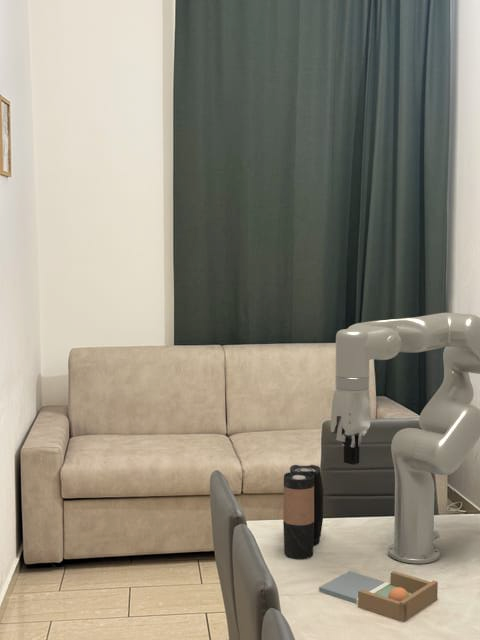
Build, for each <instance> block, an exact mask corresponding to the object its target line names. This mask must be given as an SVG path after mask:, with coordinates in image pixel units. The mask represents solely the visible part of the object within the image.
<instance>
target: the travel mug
mask: <svg viewBox="0 0 480 640" xmlns="http://www.w3.org/2000/svg"><path fill="white" fill-rule="evenodd" d="M282 503H283V507H282V508H283V511H282V513H283V514H282V515H283V517H282V518H283V520H282V521H283V524H282V525H283V528H282V529H283V553H284V556H286V557H287V558H288V559H293V560H306V559H309V558H311V557H313V555H314V546H313V540H314V475H313V474H311V473H308V472H299V473H297V474H291V473H290V472H285V474H284V475H283V501H282Z"/></svg>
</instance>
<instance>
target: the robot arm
mask: <svg viewBox="0 0 480 640" xmlns="http://www.w3.org/2000/svg"><path fill="white" fill-rule="evenodd" d="M441 348H444V349H443V354H442V357H443V358H442V360H443V380H442V383H441V385H440V387H439V388H438V389H437V390H436V392H435V393H434V395H433V396H432V397H431V399H430V400H429V401H428V402H427V404H426V405H425V406H424V407H423V409H422V411H421V412H420V415H419V417H418V424H419V427H420V428H417V427H415V428H414V427H405V428H403V429H400V430H398V431H397V432H396V433H395V434H394V436H393V438H392V440H391V443H390V444H391V445H390V447H391V448H390V450H391V457H392V462H393V467H394V531H393V532H394V534H393V535H394V536H393V538H394V539H393V543H391V544H390V545H389V546H388V547H387V554H388V556H389V557H391V558H392V559H394V560H395V561H398V562H403V563H406V564H407V563H408V564H429V563H433V562H436V561H437V560H438V559H439V558H440V555H441V554H440V553H441V552H440V550H439V548H437V547H436V546H434V542H435V541H436V540H437V539H439V538H440V533H439V532H438V531H436V530H435V528H434V527H435V525H434V524H435V522H434V521H435V482H434V479H433V476H432V474H435V475H439V476H449V475H452V474H453V473H455V472H456V471H457V470H458V468H459V467H460V466H461V465H462V464H463V462H464V461H465V459H466V458H467V457H468V455H469V454H470V453H471V451H472V450H473V448H474V447H475V445H476V444H477V443H478V441H479V439H480V409H479V408H478V407H477V406H475V405H473V404H471V403H472V402H473V399H474V394H475V393H474V388H473V387H474V386H473V384H472V382H471V379H470V373H471V374H477V375H480V317H479V316H478V315H475V314H468V313H460V312H459V313H458V312H439V313H433V314H428V315H422V316H415V317H402V318H395V319H394V318H393V319H385V320H384V319H383V320H381V319H380V320H372V321H371V320H369V321H363V322H358V323H354V324H352V325H349V326H348V328H345V329H340V330H338V331H337V332H336V335H335V390H334V392H333V396H332V401H331V403H332V404H331V413H330V432H331V433H332V434H335V435H336V437H335V438H336V439H335V440H336V442H337V441H338V442H340V443H341V444H342V446H343V463H345V464H348V465H352V466H353V465H358V464H360V447H361V445H362V438H363V437H364V436H365V435H366V434H367V432H368V430H369V428H370V427H371V417H372V415H371V400H370V399H371V398H370V397H371V396H370V361H371V360H376V361H377V360H378V361H380V360H381V361H386V360H387V361H388V360H391V359H393V358H395V357H396V356H397V355H398V354H399V353H422V352H427V351H431V350H437V349H441Z"/></svg>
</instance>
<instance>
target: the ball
mask: <svg viewBox="0 0 480 640" xmlns="http://www.w3.org/2000/svg"><path fill="white" fill-rule="evenodd" d="M408 596H409V594H408V592H407V591H406V590H405V589H403V588H401V587H396V588H393V589H392V590H391V591H390V593H389V596H388V598H390V599H393V600H397V601H402V600H403V599H405V598H406V597H408Z"/></svg>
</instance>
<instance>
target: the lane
mask: <svg viewBox="0 0 480 640" xmlns="http://www.w3.org/2000/svg"><path fill="white" fill-rule="evenodd" d="M438 586H439V582H438V581H437V580H432V581H430V580H425V579H422V578H419V577H415V576H411V575H408V574H405V573H402V572H398V571H394V570H393V571H390V582H387V581H384V580H381V579H377V578H374V577H370V576H367V575H365V574H360V573H357V572H354V571H352V570H349V571H347V572H344V573H343V574H341V575H339V576H337V577H336V578H333V579H332V580H330V581H328V582H326V583H324V584H322V585H320V586H319V587H318V591H319V592H320V593H323V594H326V595H329V596H332V597H335V598H338V599H342V600H343V601H348V602H351V603H354V604H357V607H358V608H360V609H363V610H366V611H369V612H372V613H376V614H378V615H381V616H385V617H387V618H390V619H393V620H397V621H400V622H402V623H404V622H406V621H407V620H409V619H410V618H412V617H413V616H415V615H417V614H418V613H419V612H421V611H422V610H424V609H425V608H426V607H428V606H430V605H432V604H433V603H434V602H436V601H437V600H438V591H439V590H438V588H439V587H438ZM396 587H401V588H403V589H405V590H406V591H407V592H408V594H409V596H408V597H406V598H405V599H403V600H402V601H397V600H393V599H390V598H388V596H389V593H390V591H391V590H392V589H393V588H396Z"/></svg>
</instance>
